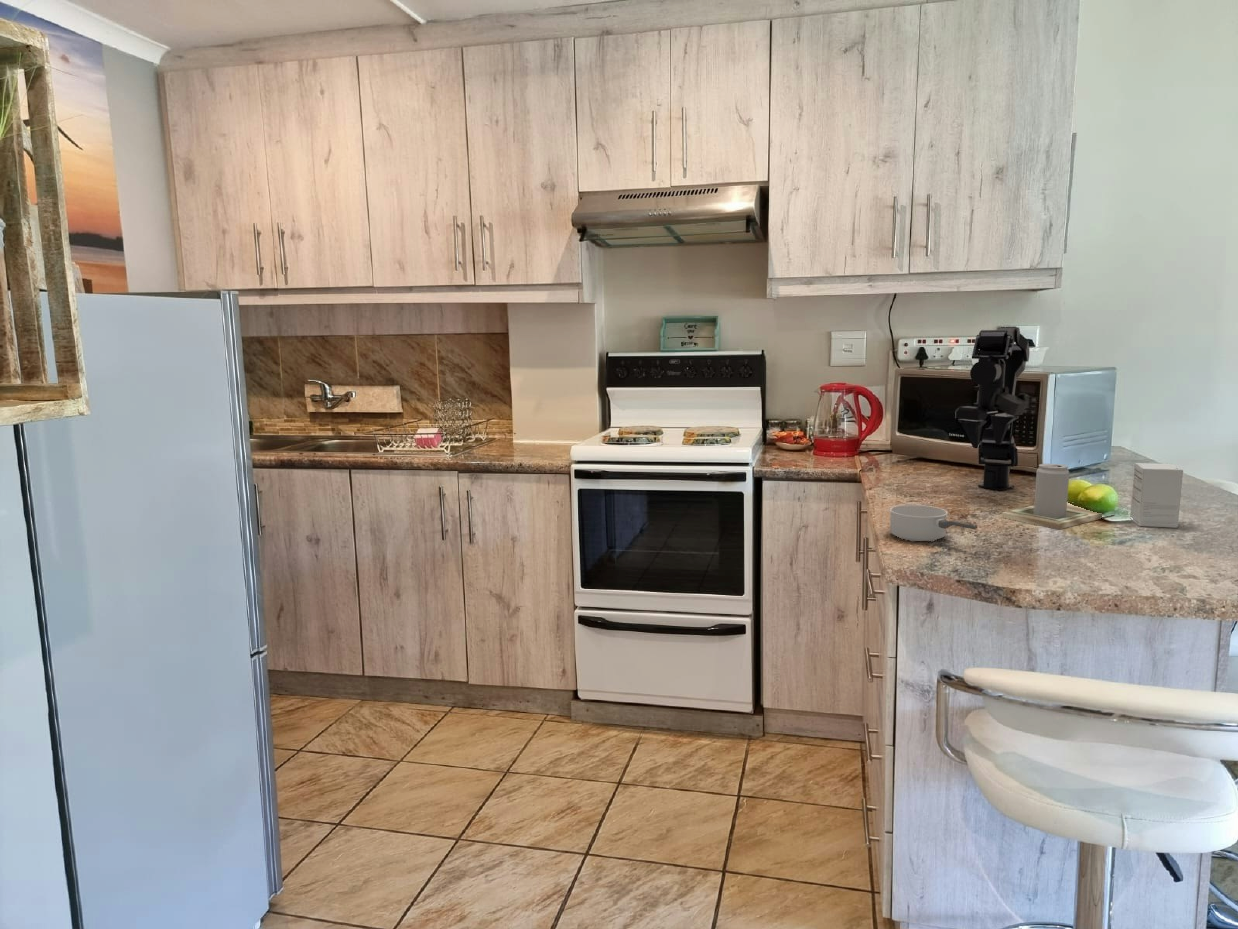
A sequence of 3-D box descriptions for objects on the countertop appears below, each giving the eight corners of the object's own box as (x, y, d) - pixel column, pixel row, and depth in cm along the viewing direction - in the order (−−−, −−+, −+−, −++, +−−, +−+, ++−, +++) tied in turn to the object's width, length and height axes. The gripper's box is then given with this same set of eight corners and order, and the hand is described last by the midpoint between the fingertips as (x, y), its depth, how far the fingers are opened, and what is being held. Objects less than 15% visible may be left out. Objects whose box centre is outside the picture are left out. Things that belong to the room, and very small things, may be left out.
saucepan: (951, 558, 153) (953, 529, 152) (875, 534, 171) (876, 508, 170) (994, 550, 158) (996, 522, 157) (916, 527, 176) (918, 502, 175)
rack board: (1057, 505, 194) (1057, 499, 194) (1114, 515, 183) (1114, 509, 183) (1001, 517, 183) (1002, 511, 183) (1058, 529, 172) (1059, 523, 172)
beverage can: (1072, 521, 179) (1076, 466, 177) (1046, 522, 178) (1050, 468, 176) (1052, 514, 185) (1056, 462, 183) (1026, 516, 184) (1030, 463, 182)
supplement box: (1167, 520, 178) (1173, 463, 176) (1178, 528, 171) (1184, 469, 169) (1128, 518, 181) (1134, 462, 178) (1137, 526, 174) (1143, 467, 171)
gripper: (998, 386, 186) (994, 454, 189) (1045, 382, 196) (1040, 446, 199) (955, 383, 196) (952, 448, 198) (1002, 379, 205) (998, 441, 208)
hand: (987, 446), depth 201 cm, fingers open, 9 cm apart
